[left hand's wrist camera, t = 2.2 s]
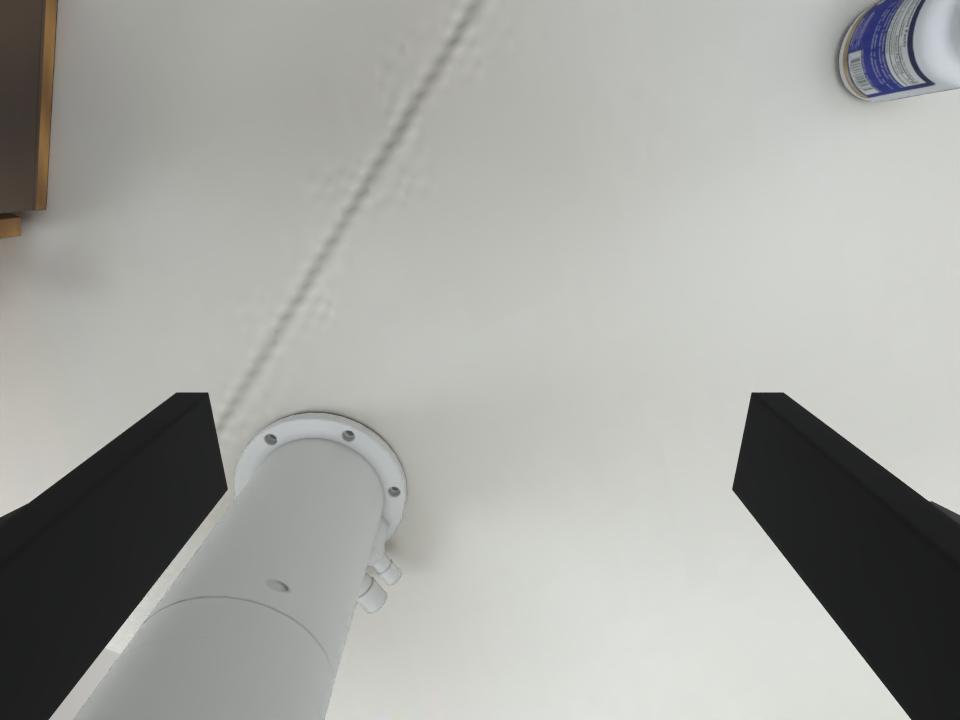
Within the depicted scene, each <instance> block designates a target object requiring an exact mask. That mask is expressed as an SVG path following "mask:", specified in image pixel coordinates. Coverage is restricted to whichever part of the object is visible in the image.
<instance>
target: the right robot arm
mask: <svg viewBox="0 0 960 720" xmlns="http://www.w3.org/2000/svg"><path fill="white" fill-rule="evenodd" d="M349 431H351V432H353V433H350V432H349ZM234 490H235V496H236V499H235V500H234V502H233V503H232V504H231V506H230V507H229V508H228V510H227V511H226V512H225V514H224V515H223V516H222V518H221V519H220V521H219V522H218V523H217V525H216V526H215V527H214V529H213V530H212V531H211V533H210V534H209V535H208V537H207V538H206V539H205V541H204V542H203V544H202V545H201V546H200V548H199V549H198V550H197V552H196V553H195V554H194V556H193V557H192V558H191V560H190V561H189V562H188V564H187V565H186V566H185V568H184V569H183V571H182V572H181V573H180V575H179V576H178V577H177V579H176V580H175V581H174V583H173V584H172V585H171V587H170V588H169V589H168V591H167V592H166V593H165V595H164V596H163V598H162V599H161V600H160V602H159V603H158V604H157V606H156V607H155V608H154V610H153V611H152V612H151V614H150V615H149V616H148V618H147V619H146V621H145V622H144V623H143V625H142V626H141V627H140V629H139V630H138V632H137V633H136V634H135V636H134V637H133V638H132V640H131V641H130V643H129V644H128V645H127V647H126V648H125V649H124V651H123V652H122V653H121V655H120V656H119V657H118V659H117V660H116V661H115V663H114V664H113V665H112V667H111V668H110V669H109V671H108V672H107V674H106V675H105V676H104V678H103V679H102V680H101V682H100V683H99V685H98V686H97V687H96V689H95V690H94V691H93V693H92V694H91V695H90V697H89V698H88V700H87V701H86V702H85V704H84V705H83V706H82V708H81V709H80V710H79V712H78V713H77V715H76V716H75V717H74V719H73V720H325V716H326V713H327V709H328V706H329V702H330V698H331V694H332V690H333V685H334V682H335V678H336V674H337V671H338V667H339V664H340V660H341V657H342V653H343V650H344V646H345V643H346V639H347V635H348V632H349V628H350V625H351V621H352V618H353V614H354V611H355V607H356V604H357V602H358V603H359V604H360V605H361V606H362V607H363V608H364V609H365V611H366V612H367V613H374V612H376V611H377V610H378V609H380V608H381V607H382V605H383V604H384V603H385V601H386V598H387V593H386V591H385V590H384V589H383V588H382V587H381V586H380V585H379V584H378V583H377V581H376V580H375V579H374V578H373V577H370V576H369V574H368V573H367V572H366V568H367V566H372V567H373V568H374V569H375V570H376V571H377V574H378V575H379V576H380V577H381V578H382V579H383V580H384V581H385V583H386V584H387V585H393V584H394V583H396V582H397V581H398V580H399V578H400V577H401V574H402V571H401V570H400V569H399V567H398V566H397V565H396V564H395V563H394V562H393V561H392V560H391V559H389V557H388V556H387V555H386V554H385V550H386V549H385V547H384V546H385V542H386V541H387V540H388V539H389V538H390V537H391V536H392V535H393V533H394V532H395V531H396V529H397V527H398V525H399V523H400V522H401V519H402V516H403V512H404V509H405V503H406V497H407V488H406V479H405V475H404V472H403V468H402V466H401V464H400V462H399V460H398V458H397V456H396V455H395V453H394V452H393V451H392V449H391V448H390V447H389V446H388V444H387V443H386V442H385V441H384V440H383V439H381V438H380V437H379V436H378V435H377V434H376V433H374V432H373V431H372V430H370V429H368V428H367V427H365V426H363V425H362V424H360V423H358V422H355V421H353V420H350V419H348V418H345V417H342V416H337V415H332V414H328V413H303V414H296V415H291V416H288V417H285V418H282V419H279V420H277V421H275V422H274V423H272V424H270V425H268V426H266V427H265V428H264V429H263V430H261V431H260V432H259V433H258V434H257V435H256V436H255V437H254V438H253V439H252V440H251V442H250V443H249V444H248V445H247V446H246V448H245V449H244V451H243V453H242V454H241V456H240V458H239V460H238V463H237V467H236V470H235V475H234Z"/></svg>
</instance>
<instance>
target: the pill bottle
mask: <svg viewBox="0 0 960 720" xmlns="http://www.w3.org/2000/svg"><path fill="white" fill-rule="evenodd" d="M839 69H840V74H841V78H842V80H843V83H844V84H845V86H846V88H847V89H848V90H849V91H850V92H851V93H852V94H853V95H855V96H856V97H858V98H860V99H863V100H866V101H870V102H883V101H889V100H895V99H901V98H906V97H912V96H918V95H923V94H929V93H935V92H941V91H947V90H952V89H958V88H960V0H880V1H878V2H876V3H874V4H873V5H871V6H870V7H868V8H867V9H866V10H865V11H864V12H862V13H861V14H860V15H859V16H858V18H857V19H856V20H855V21H854V22H853V24H852V25H851V27H850V28H849V30H848V32H847V34H846V36H845V38H844V40H843V43H842V46H841V50H840V56H839Z"/></svg>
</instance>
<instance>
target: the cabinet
mask: <svg viewBox="0 0 960 720" xmlns="http://www.w3.org/2000/svg"><path fill="white" fill-rule="evenodd" d="M56 15H57V0H0V213H9V212H20V211H31V210H46V197H47V179H48V161H49V142H50V124H51V106H52V88H53V69H54V51H55V33H56Z"/></svg>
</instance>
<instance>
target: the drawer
mask: <svg viewBox="0 0 960 720" xmlns="http://www.w3.org/2000/svg"><path fill="white" fill-rule="evenodd" d="M15 236H21V217H19V216H16V215H13V214H10V213H0V239H1V238H8V237H15Z"/></svg>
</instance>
